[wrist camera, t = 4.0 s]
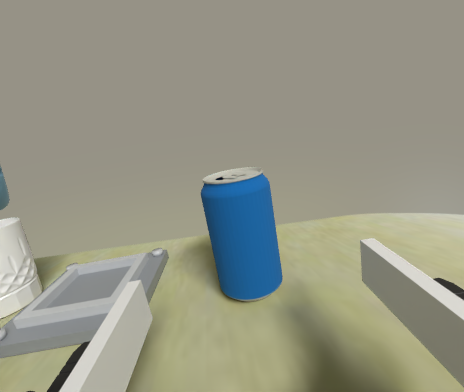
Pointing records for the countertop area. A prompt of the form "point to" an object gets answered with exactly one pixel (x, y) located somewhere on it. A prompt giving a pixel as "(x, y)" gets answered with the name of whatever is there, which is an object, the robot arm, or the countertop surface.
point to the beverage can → (242, 232)
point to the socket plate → (78, 303)
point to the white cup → (16, 269)
